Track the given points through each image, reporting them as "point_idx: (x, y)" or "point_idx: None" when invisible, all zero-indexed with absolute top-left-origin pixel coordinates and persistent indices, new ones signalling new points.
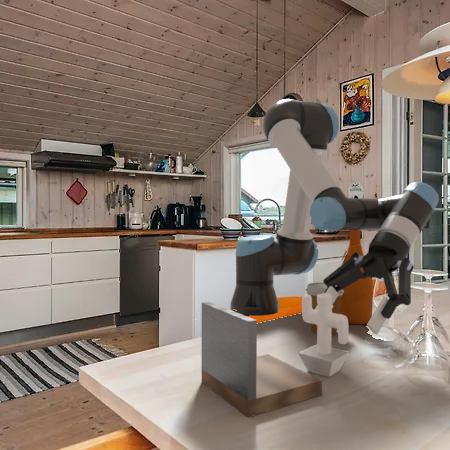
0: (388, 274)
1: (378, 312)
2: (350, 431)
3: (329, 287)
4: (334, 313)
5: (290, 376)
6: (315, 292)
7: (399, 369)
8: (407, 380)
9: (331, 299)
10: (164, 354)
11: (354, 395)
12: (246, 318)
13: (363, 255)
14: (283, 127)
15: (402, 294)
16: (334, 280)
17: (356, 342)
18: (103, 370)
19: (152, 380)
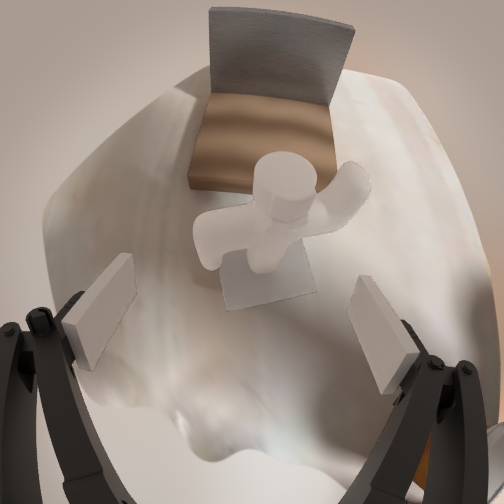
0: (58, 460)
1: (97, 281)
2: (116, 153)
3: (414, 346)
4: (238, 216)
5: (232, 151)
6: (490, 432)
7: (167, 406)
8: (126, 361)
9: (255, 188)
10: (423, 141)
11: (154, 227)
12: (225, 8)
13: None
14: None
15: (5, 327)
16: (434, 384)
17: (336, 469)
18: (390, 86)
19: (350, 92)
